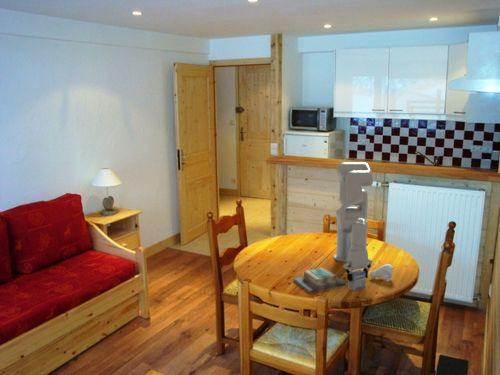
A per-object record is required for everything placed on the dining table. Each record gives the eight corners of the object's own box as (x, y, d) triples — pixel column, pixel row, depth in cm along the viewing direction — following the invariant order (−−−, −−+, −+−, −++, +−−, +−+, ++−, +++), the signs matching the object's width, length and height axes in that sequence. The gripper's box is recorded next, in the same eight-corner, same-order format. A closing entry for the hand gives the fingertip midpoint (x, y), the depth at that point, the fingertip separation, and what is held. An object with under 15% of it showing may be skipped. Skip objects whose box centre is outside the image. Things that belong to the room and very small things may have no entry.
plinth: (328, 273, 252) (329, 263, 251) (346, 285, 238) (346, 274, 237) (293, 281, 244) (293, 270, 242) (309, 293, 229) (309, 282, 228)
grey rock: (393, 266, 238) (369, 267, 241) (394, 282, 240) (370, 282, 243) (392, 262, 244) (369, 262, 247) (393, 277, 246) (370, 277, 249)
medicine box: (354, 291, 231) (355, 275, 229) (348, 288, 234) (348, 272, 232) (365, 287, 235) (365, 271, 233) (358, 284, 239) (359, 268, 237)
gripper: (367, 242, 236) (366, 273, 240) (339, 247, 229) (338, 279, 233) (377, 246, 230) (375, 278, 233) (348, 251, 223) (347, 284, 226)
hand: (357, 278), depth 233 cm, fingers open, 9 cm apart
